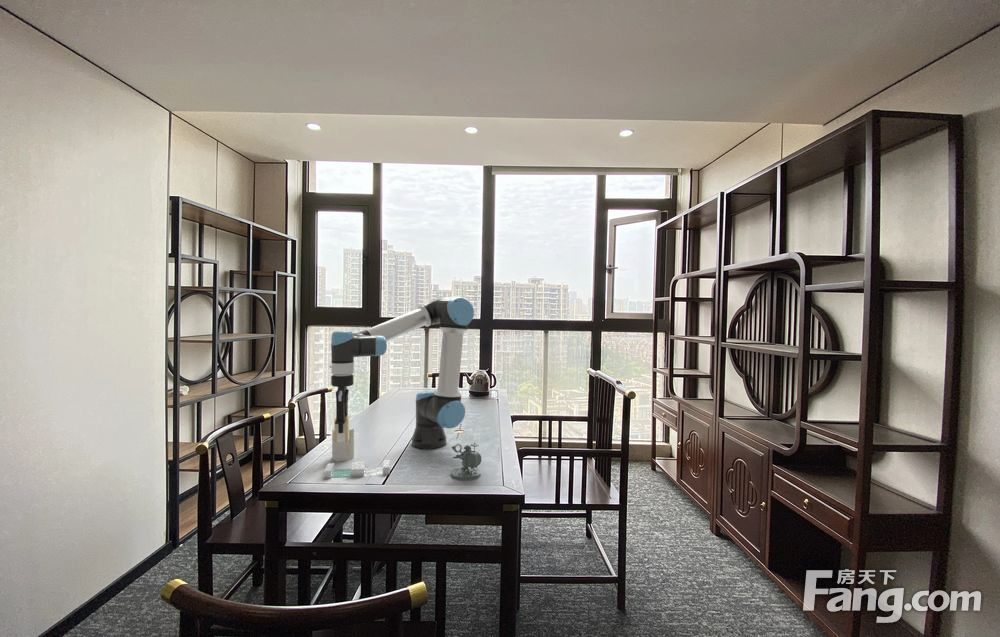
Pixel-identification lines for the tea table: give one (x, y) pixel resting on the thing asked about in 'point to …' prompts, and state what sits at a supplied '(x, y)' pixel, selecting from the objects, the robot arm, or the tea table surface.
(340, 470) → the rail
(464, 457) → the figurine
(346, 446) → the cup
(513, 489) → the tea table surface
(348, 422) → the pale yellow tall block
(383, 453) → the tea table surface
